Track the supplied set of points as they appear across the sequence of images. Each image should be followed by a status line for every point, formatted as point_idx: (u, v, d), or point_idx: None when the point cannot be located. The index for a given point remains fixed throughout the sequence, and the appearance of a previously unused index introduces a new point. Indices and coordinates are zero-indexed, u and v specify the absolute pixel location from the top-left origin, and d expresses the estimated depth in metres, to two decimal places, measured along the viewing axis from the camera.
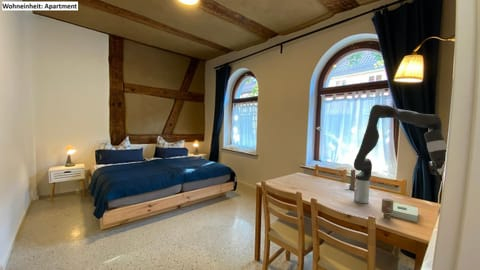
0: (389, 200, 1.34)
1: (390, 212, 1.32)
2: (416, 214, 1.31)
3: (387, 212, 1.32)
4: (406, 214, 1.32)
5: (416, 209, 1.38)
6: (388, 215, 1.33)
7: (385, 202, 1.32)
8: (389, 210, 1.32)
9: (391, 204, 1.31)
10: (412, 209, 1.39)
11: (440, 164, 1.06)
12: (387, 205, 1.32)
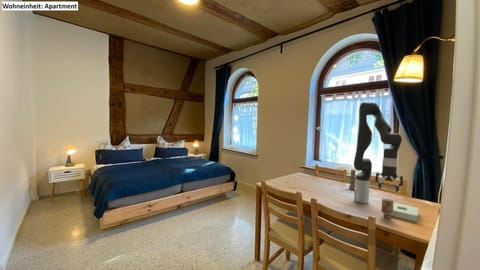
0: (389, 200, 1.34)
1: (390, 212, 1.32)
2: (416, 214, 1.31)
3: (387, 212, 1.32)
4: (406, 214, 1.32)
5: (416, 209, 1.38)
6: (388, 215, 1.33)
7: (385, 202, 1.32)
8: (389, 210, 1.32)
9: (391, 204, 1.31)
10: (412, 209, 1.39)
11: (383, 176, 1.34)
12: (387, 205, 1.32)
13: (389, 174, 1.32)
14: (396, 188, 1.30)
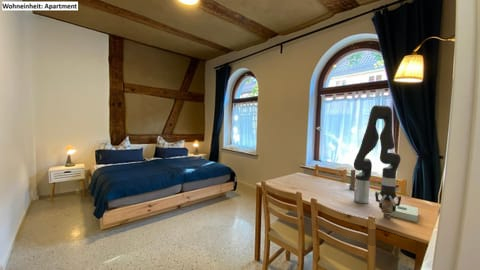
0: None
1: (390, 212, 1.32)
2: (416, 214, 1.31)
3: (387, 212, 1.32)
4: (406, 214, 1.32)
5: (416, 209, 1.38)
6: (388, 215, 1.33)
7: (385, 202, 1.32)
8: (389, 210, 1.32)
9: (391, 204, 1.31)
10: (412, 209, 1.39)
11: (382, 195, 1.35)
12: (387, 205, 1.32)
13: (388, 193, 1.33)
14: (393, 208, 1.32)
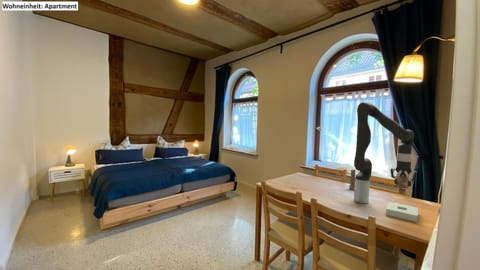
0: (404, 176, 1.38)
1: (405, 187, 1.36)
2: (416, 214, 1.31)
3: (403, 187, 1.36)
4: (406, 214, 1.32)
5: (416, 209, 1.38)
6: (403, 190, 1.37)
7: (401, 177, 1.36)
8: (405, 185, 1.36)
9: (406, 179, 1.35)
10: (412, 209, 1.39)
11: (397, 171, 1.39)
12: (403, 180, 1.36)
13: (403, 169, 1.37)
14: (408, 183, 1.36)
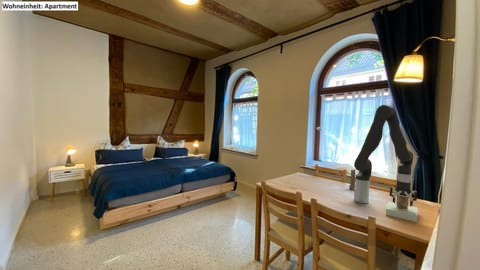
0: (404, 196, 1.39)
1: (405, 208, 1.37)
2: (416, 214, 1.31)
3: (402, 208, 1.37)
4: (406, 214, 1.32)
5: (416, 209, 1.38)
6: None
7: (401, 198, 1.38)
8: (405, 206, 1.37)
9: (406, 200, 1.37)
10: (412, 209, 1.39)
11: (397, 190, 1.40)
12: (402, 201, 1.37)
13: (403, 189, 1.38)
14: (410, 203, 1.36)
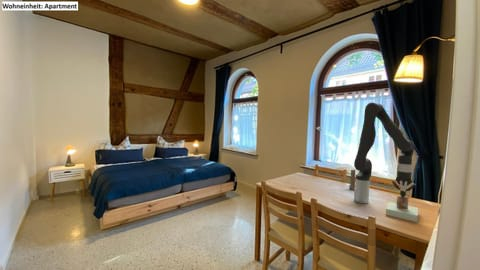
0: (404, 196, 1.39)
1: (405, 208, 1.37)
2: (416, 214, 1.31)
3: (402, 208, 1.37)
4: (406, 214, 1.32)
5: (416, 209, 1.38)
6: None
7: (401, 198, 1.38)
8: (405, 206, 1.37)
9: (406, 200, 1.37)
10: (412, 209, 1.39)
11: (399, 182, 1.40)
12: (402, 201, 1.37)
13: (404, 179, 1.38)
14: (403, 193, 1.38)
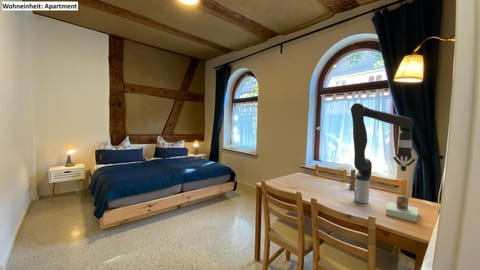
0: (404, 196, 1.39)
1: (405, 208, 1.37)
2: (416, 214, 1.31)
3: (402, 208, 1.37)
4: (406, 214, 1.32)
5: (416, 209, 1.38)
6: None
7: (401, 198, 1.38)
8: (405, 206, 1.37)
9: (406, 200, 1.37)
10: (412, 209, 1.39)
11: (399, 158, 1.48)
12: (402, 201, 1.37)
13: (404, 155, 1.46)
14: (403, 168, 1.47)
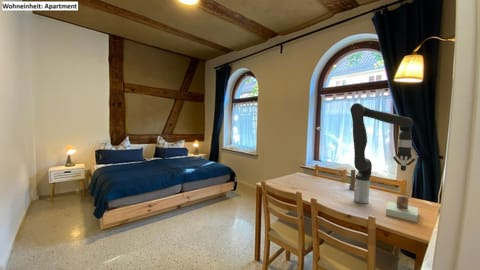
0: (404, 196, 1.39)
1: (405, 208, 1.37)
2: (416, 214, 1.31)
3: (402, 208, 1.37)
4: (406, 214, 1.32)
5: (416, 209, 1.38)
6: None
7: (401, 198, 1.38)
8: (405, 206, 1.37)
9: (406, 200, 1.37)
10: (412, 209, 1.39)
11: (399, 157, 1.48)
12: (402, 201, 1.37)
13: (404, 154, 1.47)
14: (403, 167, 1.47)
